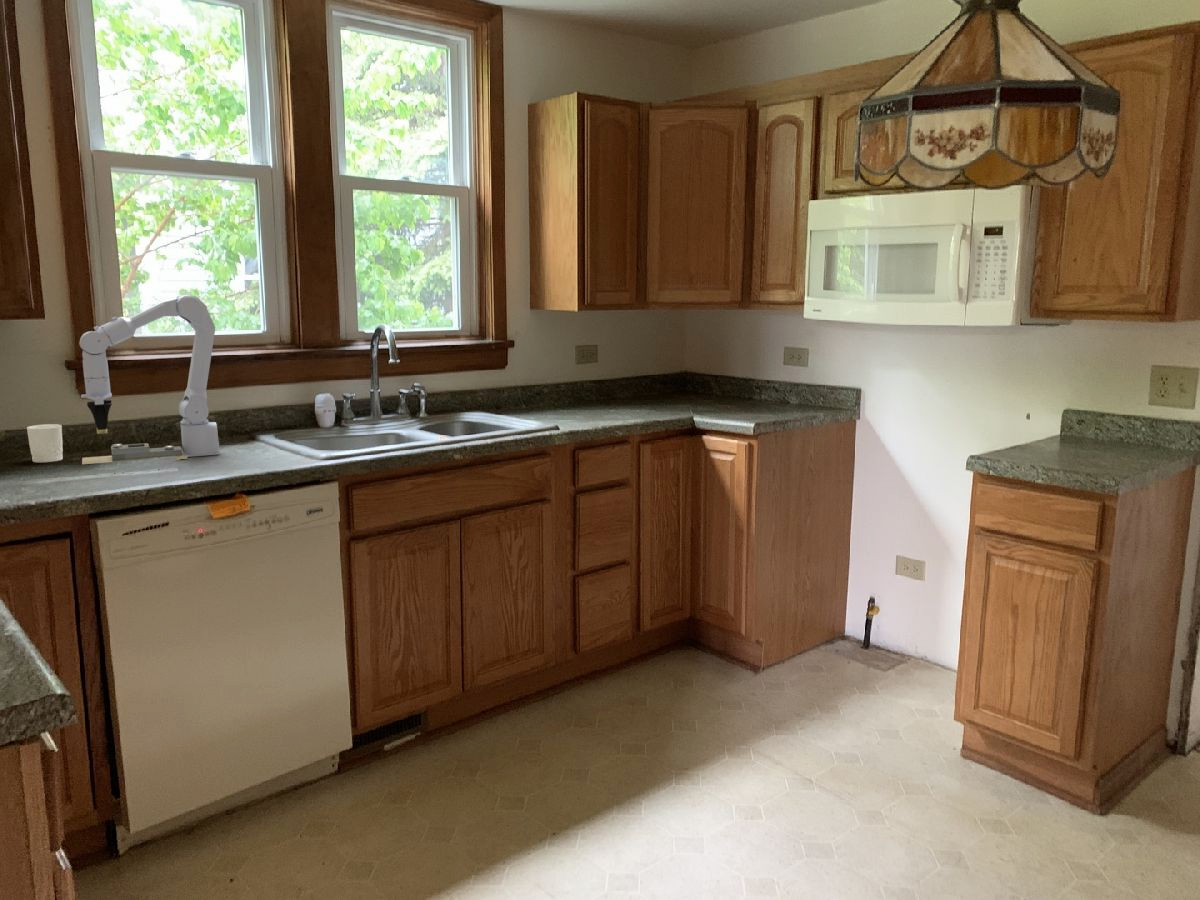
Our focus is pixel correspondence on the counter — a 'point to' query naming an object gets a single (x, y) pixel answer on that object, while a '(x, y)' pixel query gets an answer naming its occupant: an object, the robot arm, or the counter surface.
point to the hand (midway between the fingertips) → (102, 428)
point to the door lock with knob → (137, 453)
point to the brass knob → (101, 431)
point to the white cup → (45, 442)
